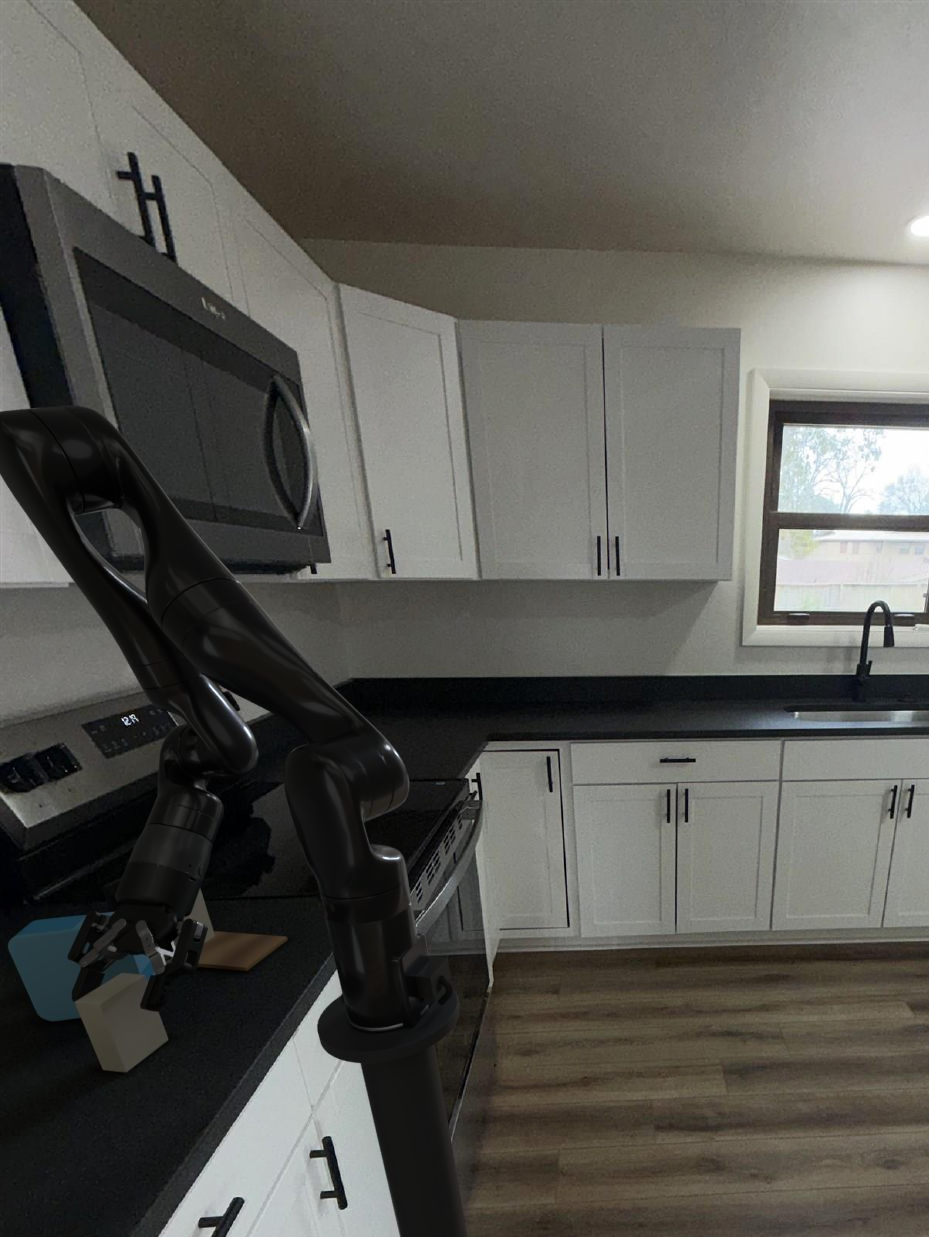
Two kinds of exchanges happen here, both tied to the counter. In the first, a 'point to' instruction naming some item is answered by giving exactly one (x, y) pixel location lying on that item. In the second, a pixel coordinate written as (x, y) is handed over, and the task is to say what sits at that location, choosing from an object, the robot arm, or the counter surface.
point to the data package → (60, 965)
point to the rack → (218, 939)
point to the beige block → (121, 1022)
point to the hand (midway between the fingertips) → (115, 1006)
